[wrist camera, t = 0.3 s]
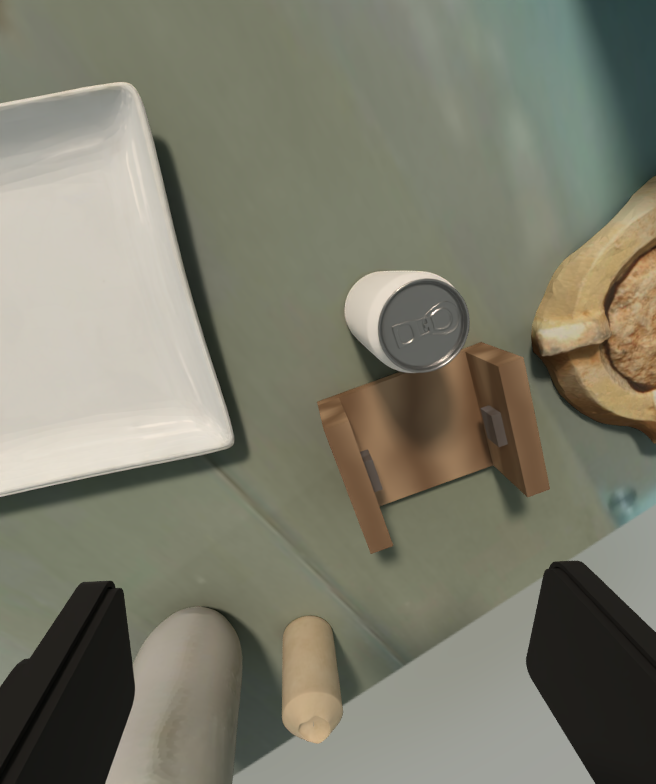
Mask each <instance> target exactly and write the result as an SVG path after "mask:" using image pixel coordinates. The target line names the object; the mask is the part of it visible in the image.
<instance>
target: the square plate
mask: <svg viewBox="0 0 656 784" xmlns="http://www.w3.org/2000/svg"><path fill="white" fill-rule="evenodd" d="M233 445H234V434H233V429H232V425H231V421H230V418H229V414H228V410H227V407H226V404H225V401H224V398H223V395H222V392H221V388H220V385H219V382H218V379H217V376H216V373H215V370H214V367H213V364H212V361H211V357H210V354H209V351H208V348H207V345H206V342H205V339H204V335H203V332H202V329H201V325H200V322H199V319H198V315H197V312H196V308H195V305H194V302H193V298H192V294H191V291H190V287H189V284H188V281H187V277H186V273H185V269H184V265H183V261H182V257H181V253H180V249H179V245H178V241H177V237H176V233H175V229H174V225H173V220H172V216H171V212H170V208H169V203H168V199H167V195H166V191H165V186H164V182H163V178H162V174H161V169H160V165H159V161H158V156H157V152H156V148H155V144H154V140H153V136H152V132H151V129H150V125H149V121H148V117H147V114H146V111H145V108H144V104H143V102H142V100H141V98H140V95H139V93H138V91H137V90H136V89H135V88H134V86H133V85H131V84H129V83H126V82H116V83H109V84H103V85H96V86H90V87H83V88H78V89H74V90H68V91H63V92H58V93H53V94H48V95H43V96H38V97H33V98H27V99H22V100H16V101H11V102H6V103H0V497H3V496H7V495H11V494H16V493H20V492H25V491H30V490H34V489H38V488H43V487H47V486H52V485H56V484H61V483H66V482H71V481H76V480H80V479H85V478H90V477H94V476H99V475H104V474H110V473H114V472H119V471H124V470H129V469H134V468H139V467H145V466H150V465H155V464H160V463H165V462H170V461H175V460H180V459H185V458H190V457H195V456H200V455H204V454H209V453H213V452H217V451H221V450H225V449H228V448H230V447H232V446H233Z"/></svg>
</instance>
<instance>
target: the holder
mask: <svg viewBox="0 0 656 784" xmlns="http://www.w3.org/2000/svg"><path fill="white" fill-rule="evenodd" d="M317 403H318V407H319V411H320V416H321V420H322V424H323V428H324V432H325V434H326V437H327V439H328V442H329V445H330V447H331V450H332V453H333V455H334V458H335V460H336V463H337V466H338V468H339V471H340V474H341V476H342V479H343V482H344V484H345V487H346V489H347V492H348V495H349V497H350V500H351V503H352V505H353V508H354V510H355V513H356V516H357V518H358V521H359V524H360V526H361V529H362V532H363V534H364V537H365V539H366V542H367V545H368V547H369V550H370V553H371V554H372V553H375V552H378V551H380V550H383V549H386V548H389V547H391V546H393V544H392V541H391V538H390V535H389V532H388V529H387V527H386V524H385V521H384V518H383V515H382V513H381V510H380V507H379V506H382V505H385V504H387V503H390V502H393V501H396V500H398V499H401V498H404V497H407V496H409V495H412V494H415V493H418V492H420V491H423V490H426V489H429V488H431V487H434V486H437V485H440V484H443V483H445V482H448V481H451V480H454V479H456V478H459V477H462V476H465V475H467V474H470V473H473V472H476V471H478V470H481V469H484V468H487V467H489V466H492V465H494V466H495V467H496V468H497V469H498V470H499V471H500V472H501V473H502V474H503V475H504V476H505V477H506V478H507V479H509V480H510V481H511V482H512V483H513V484H514V485H515V486H516V487H517V488H518V489H519V490H520V491H521V492H522V493H524V494H525V495H526V496H527V497H530V496H533V495H535V494H538V493H541V492H544V491H546V490H549V489H550V487H549V482H548V477H547V472H546V467H545V462H544V457H543V452H542V447H541V442H540V437H539V432H538V427H537V422H536V417H535V413H534V408H533V403H532V398H531V393H530V388H529V383H528V378H527V373H526V368H525V363H524V358H523V357H521V356H518V355H515V354H512V353H510V352H507V351H504V350H501V349H498V348H496V347H493V346H490V345H487V344H485V343H482V342H481V343H478V344H475V345H472V346H470V347H467V348H464V349H461V351H460V352H459V353H458V355H457V356H456V357H455V358H454V359H453V360H452V361H451V362H449V363H448V364H447V365H445V366H443V367H441V368H439V369H437V370H434V371H431V372H425V373H405V372H398V373H395V374H393V375H390V376H387V377H384V378H382V379H379V380H376V381H373V382H371V383H368V384H365V385H362V386H360V387H357V388H354V389H351V390H349V391H346V392H343V393H340V394H338V395H335V396H332V397H329V398H327V399H324V400H321V401H318V402H317Z"/></svg>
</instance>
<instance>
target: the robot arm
mask: <svg viewBox="0 0 656 784" xmlns="http://www.w3.org/2000/svg"><path fill="white" fill-rule="evenodd" d="M526 665H527V669H528V672H529V675H530V677H531V679H532V681H533V682H534V684H535V686H536V687H537V689H538V690H539V692H540V694H541V695H542V697H543V699H544V700H545V702H546V703H547V705H548V707H549V708H550V710H551V712H552V713H553V715H554V717H555V718H556V720H557V722H558V723H559V725H560V726H561V728H562V730H563V731H564V733H565V735H566V736H567V738H568V740H569V741H570V743H571V744H572V746H573V747H574V749H575V751H576V753H577V754H578V756H579V758H580V759H581V761H582V762H583V764H584V765H585V767H586V769H587V771H588V772H589V774H590V776H591V777H592V779H593V780H594V782H595V784H656V632H655V631H654V630H653V629H652V628H650V627H649V626H648V625H647V624H646V623H645V622H644V621H643V620H642V619H641V618H640V617H639V616H638V615H637V614H636V613H635V612H634V611H633V610H632V609H631V608H629V606H628V605H626V603H625V602H624V601H622V600H621V599H620V598H619V597H618V596H617V595H616V594H615V593H614V592H613V591H612V590H611V589H610V588H609V587H608V586H607V585H606V584H605V583H604V582H603V581H602V580H601V579H600V578H599V577H598V576H597V575H595V574H594V573H593V572H592V571H591V570H590V569H589V568H588V567H587V566H586V565H585V564H584V563H582V562H580V561H559V562H553V563H552V564H551V565H550V567H549V569H546V570H545V572H544V575H543V580H542V585H541V590H540V595H539V600H538V605H537V609H536V614H535V619H534V624H533V628H532V633H531V638H530V644H529V648H528V653H527V657H526ZM134 696H135V681H134V673H133V665H132V657H131V649H130V640H129V632H128V624H127V616H126V608H125V600H124V593H123V590H122V588H115V584H114V583H113V581H97V582H83V583H81V584H80V585H79V586H78V587H77V588H76V590H75V591H74V593H73V594H72V596H71V597H70V599H69V600H68V602H67V603H66V605H65V606H64V608H63V609H62V611H61V612H60V614H59V615H58V617H57V618H56V620H55V621H54V623H53V624H52V626H51V627H50V629H49V630H48V632H47V633H46V635H45V636H44V638H43V639H42V641H41V642H40V644H39V645H38V647H37V648H36V650H35V651H34V653H33V654H32V656H31V657H30V659H24V660H22V661H21V662H20V663H18V664H17V665H16V666H15V668H14V669H13V670H12V671H11V672H10V674H9V675H8V677H7V678H6V680H5V681H4V682H3V684H2V685H1V687H0V784H105V783H106V780H107V777H108V774H109V771H110V768H111V766H112V763H113V760H114V757H115V754H116V751H117V749H118V746H119V743H120V740H121V737H122V734H123V732H124V729H125V726H126V723H127V720H128V717H129V715H130V712H131V709H132V706H133V701H134Z"/></svg>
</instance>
